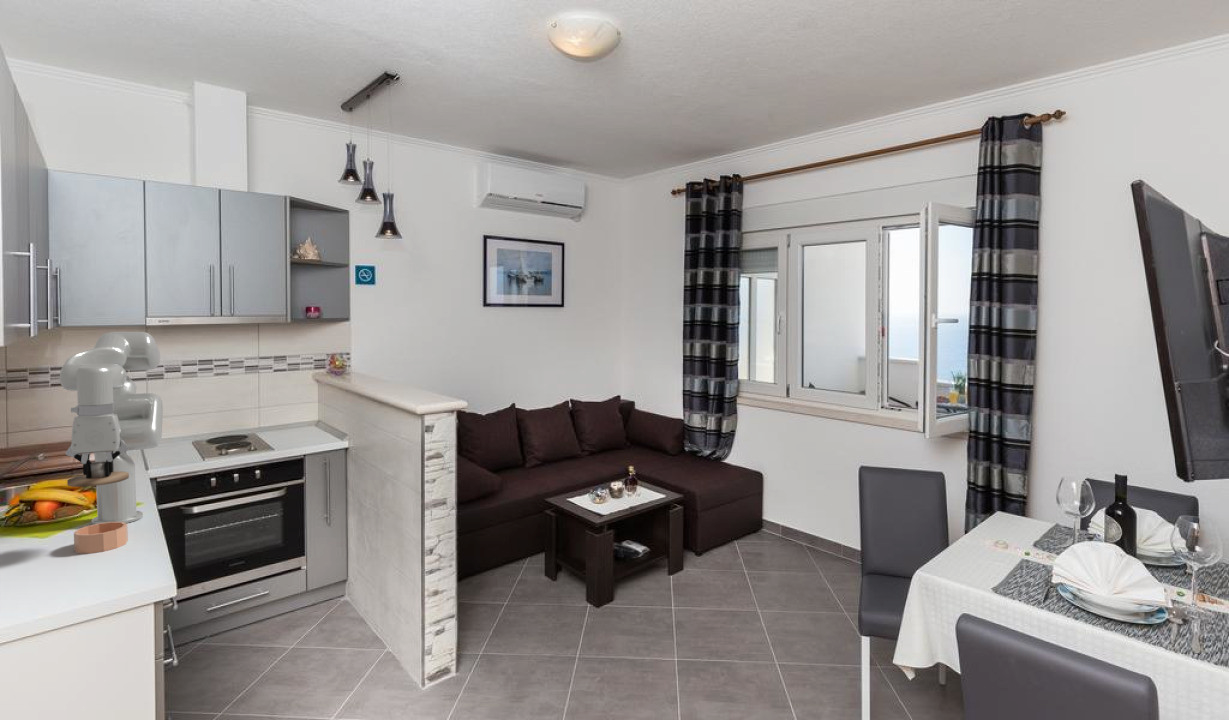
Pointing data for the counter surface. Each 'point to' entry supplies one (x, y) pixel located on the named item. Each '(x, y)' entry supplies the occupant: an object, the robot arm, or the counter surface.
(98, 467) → the lid
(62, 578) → the counter surface
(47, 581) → the counter surface
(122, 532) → the bowl
